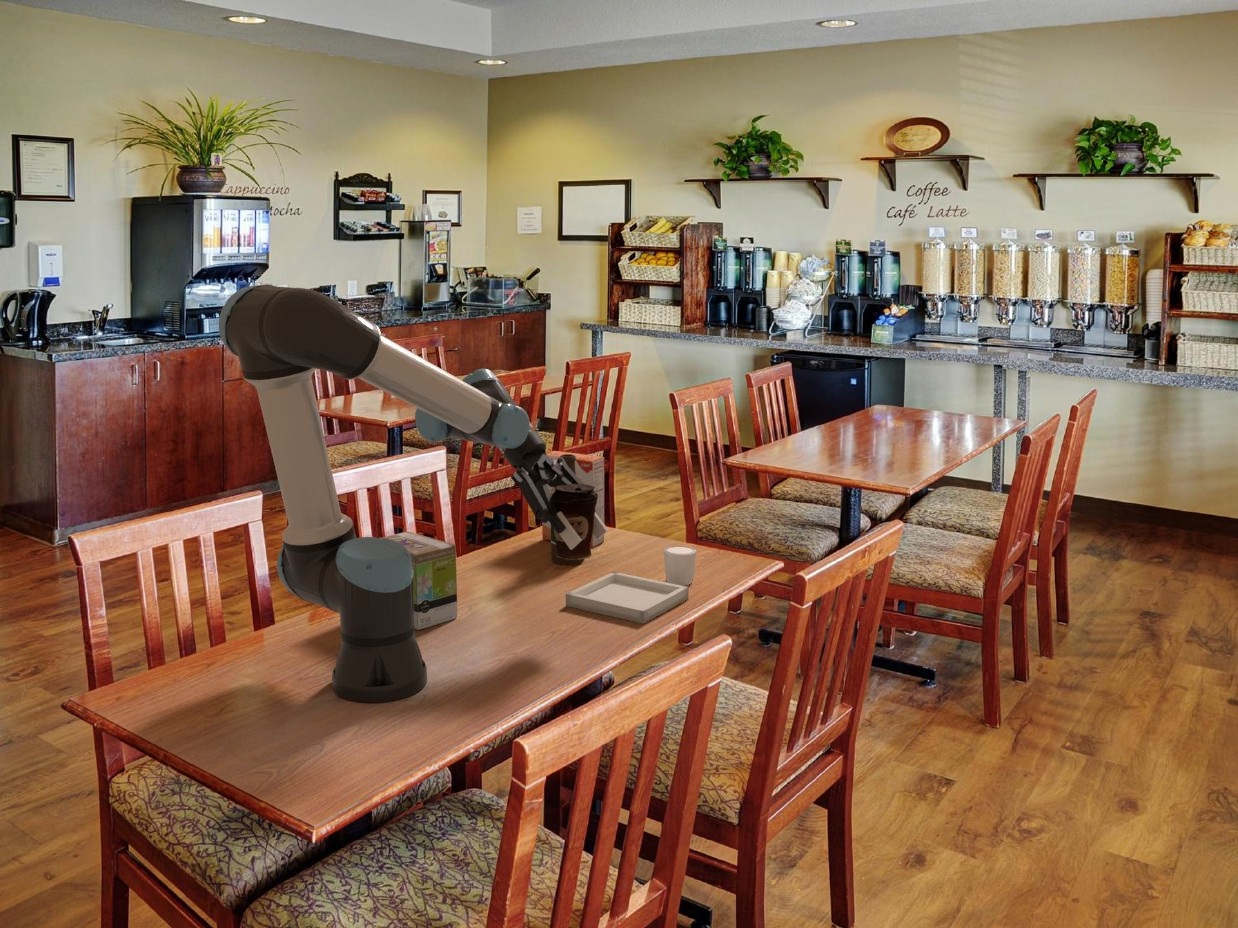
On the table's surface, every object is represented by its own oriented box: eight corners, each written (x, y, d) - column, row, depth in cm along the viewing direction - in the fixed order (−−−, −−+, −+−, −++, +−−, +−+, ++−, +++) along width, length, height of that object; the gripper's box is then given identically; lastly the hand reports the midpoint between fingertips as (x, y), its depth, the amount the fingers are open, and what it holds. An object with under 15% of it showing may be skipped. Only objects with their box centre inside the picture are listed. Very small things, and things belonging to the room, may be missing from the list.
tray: (643, 623, 210) (643, 611, 210) (565, 605, 220) (565, 593, 219) (688, 598, 224) (688, 587, 224) (613, 583, 234) (613, 571, 233)
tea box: (459, 618, 213) (457, 543, 210) (417, 632, 206) (414, 555, 203) (411, 600, 223) (408, 528, 220) (369, 613, 216) (365, 539, 213)
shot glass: (679, 574, 240) (679, 543, 238) (702, 582, 235) (703, 550, 233) (656, 581, 235) (656, 549, 234) (679, 589, 230) (680, 556, 229)
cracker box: (541, 540, 265) (540, 454, 260) (554, 534, 270) (554, 449, 265) (592, 549, 258) (591, 460, 254) (605, 542, 263) (605, 455, 259)
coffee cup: (590, 564, 199) (591, 494, 196) (545, 561, 201) (545, 491, 198) (601, 551, 208) (602, 482, 205) (558, 547, 209) (558, 480, 206)
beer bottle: (572, 568, 244) (571, 460, 239) (543, 562, 248) (542, 456, 243) (592, 559, 250) (592, 454, 245) (564, 553, 254) (563, 450, 249)
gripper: (541, 445, 217) (609, 539, 212) (471, 463, 200) (543, 564, 195) (563, 421, 214) (633, 516, 208) (494, 437, 197) (568, 540, 191)
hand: (589, 539), depth 202 cm, fingers closed on coffee cup, 8 cm apart
